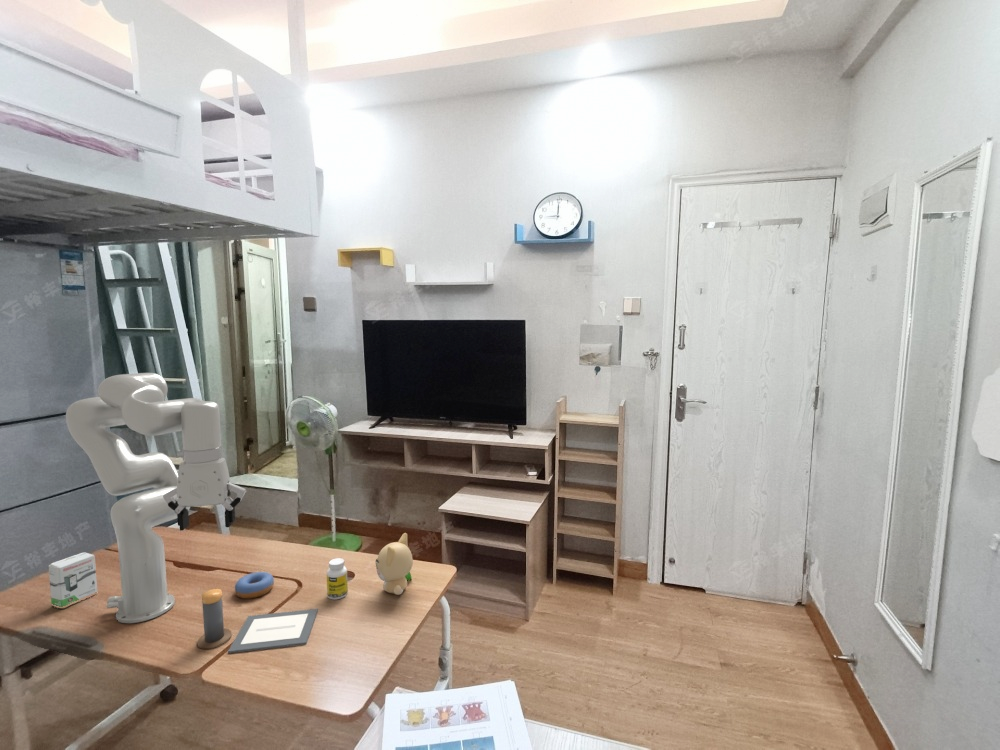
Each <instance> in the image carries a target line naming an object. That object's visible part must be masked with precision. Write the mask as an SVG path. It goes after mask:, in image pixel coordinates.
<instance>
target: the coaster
mask: <svg viewBox="0 0 1000 750" xmlns="http://www.w3.org/2000/svg"><path fill="white" fill-rule="evenodd" d="M232 634H233V633H232V631H231V629H229V628H225V627H224V637H223V638H222V639H220V640H218V641H216V642H212V643H207V642H205V636H204V634H202V635H201V636H200V637H199V638H198V640H197V647H198V648H199V649H202V650H211V649H216V648H218V647H220V646H223V645H224V644H226V643H228V642H229V641H230V639H231V638H232Z"/></svg>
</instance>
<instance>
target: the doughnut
mask: <svg viewBox="0 0 1000 750" xmlns="http://www.w3.org/2000/svg"><path fill="white" fill-rule="evenodd" d="M274 583H275V580H274V576H273V574H271V573H269V572H266V571H256V572H252V573H251V572H250V573H249V574H246V575H244V576H242V577H241V578H239V579H238V580H237V581H236V583H235V585H234V592H235V595H236V596H237V597H238V598H241V599H254V598H258V597H261V596H263V595H266V594H267V593H268V592H270V591H271V589H272V588H273V586H274V585H275V584H274Z"/></svg>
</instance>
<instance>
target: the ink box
mask: <svg viewBox="0 0 1000 750" xmlns="http://www.w3.org/2000/svg"><path fill="white" fill-rule="evenodd" d="M95 557H96V556H95V555H94V554H91V553H89V552H86V551H85V552H80V553H78V554H74V555H71V556H68V557H66V558H63V559H61V560H57V561H54V562H52V563H50V564H49V565H48V577H49V589H50V590H49V591H50V603H51V604H53V605H56V606H59V607H63V606H66V605H68V604H70V603H72V602H74V601H77V600H79V599H81V598H84V597H86V596H89V595H91V594H94V593H95V592H97V593H98V584H97V583H98V581H97V570H96V567H97V566H96V558H95Z"/></svg>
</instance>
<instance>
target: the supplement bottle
mask: <svg viewBox="0 0 1000 750" xmlns="http://www.w3.org/2000/svg"><path fill="white" fill-rule="evenodd" d="M328 567H329V568H328V569H327V571H326V595H327V598H328V599H329V600H339V599H343V598H344V597H346V596H347V595H348V588H349V587H348V569H347V567H346V566H345V559H343V558H342V557H341V558H339V557H336V558H333V559H331V560H330V561H329V562H328Z"/></svg>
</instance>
